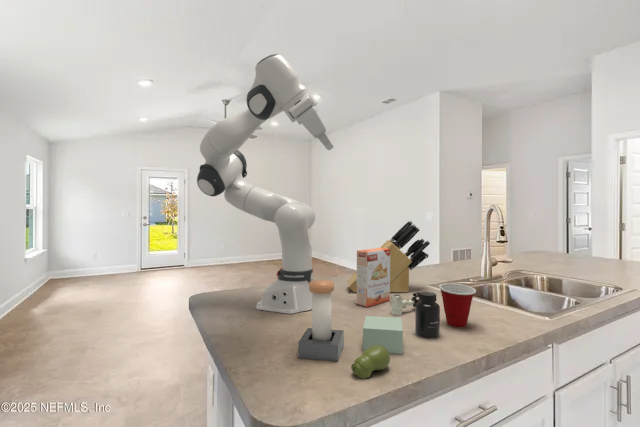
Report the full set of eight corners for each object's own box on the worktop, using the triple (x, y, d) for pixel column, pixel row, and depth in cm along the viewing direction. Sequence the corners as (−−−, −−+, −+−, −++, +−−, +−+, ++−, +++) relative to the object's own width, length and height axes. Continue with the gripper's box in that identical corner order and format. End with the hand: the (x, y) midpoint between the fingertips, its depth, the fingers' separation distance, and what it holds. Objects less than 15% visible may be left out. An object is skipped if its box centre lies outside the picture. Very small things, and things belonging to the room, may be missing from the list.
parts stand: (363, 351, 88) (363, 328, 88) (366, 336, 98) (365, 315, 98) (402, 354, 86) (402, 330, 86) (401, 339, 96) (401, 317, 96)
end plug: (307, 355, 86) (306, 284, 86) (312, 345, 92) (312, 279, 92) (332, 357, 85) (331, 285, 84) (336, 347, 91) (335, 280, 91)
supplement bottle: (436, 340, 95) (436, 297, 95) (412, 335, 98) (412, 294, 98) (442, 332, 101) (442, 292, 100) (419, 328, 104) (418, 289, 104)
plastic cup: (457, 333, 100) (457, 292, 100) (431, 321, 110) (431, 285, 110) (484, 327, 104) (484, 288, 104) (457, 317, 114) (457, 281, 114)
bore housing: (298, 358, 85) (298, 342, 85) (308, 342, 95) (307, 327, 94) (338, 361, 83) (338, 345, 83) (343, 344, 92) (343, 330, 92)
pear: (393, 346, 78) (361, 365, 72) (396, 367, 79) (364, 388, 73) (376, 338, 82) (344, 355, 77) (379, 358, 83) (347, 377, 78)
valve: (397, 317, 115) (425, 313, 119) (397, 298, 114) (425, 294, 119) (386, 312, 121) (413, 308, 125) (386, 293, 121) (413, 290, 125)
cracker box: (367, 308, 125) (367, 251, 125) (355, 304, 130) (355, 250, 130) (391, 300, 135) (391, 248, 134) (379, 297, 139) (378, 246, 139)
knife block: (431, 293, 146) (431, 221, 145) (348, 293, 146) (348, 221, 146) (423, 287, 157) (423, 220, 156) (347, 287, 158) (346, 220, 157)
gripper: (294, 117, 106) (320, 153, 108) (289, 112, 86) (322, 157, 88) (310, 104, 105) (336, 141, 107) (310, 96, 85) (342, 142, 87)
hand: (330, 148), depth 98 cm, fingers open, 8 cm apart
